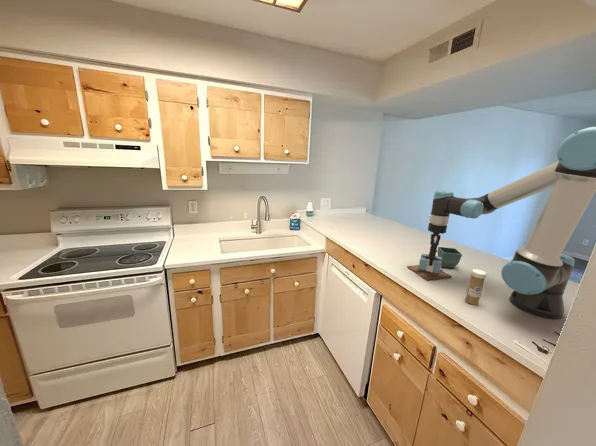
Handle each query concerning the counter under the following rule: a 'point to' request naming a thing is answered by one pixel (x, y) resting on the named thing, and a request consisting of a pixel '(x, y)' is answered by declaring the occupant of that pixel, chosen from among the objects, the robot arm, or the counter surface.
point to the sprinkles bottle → (475, 286)
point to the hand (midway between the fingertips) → (429, 267)
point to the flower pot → (449, 256)
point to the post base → (429, 273)
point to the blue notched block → (425, 260)
